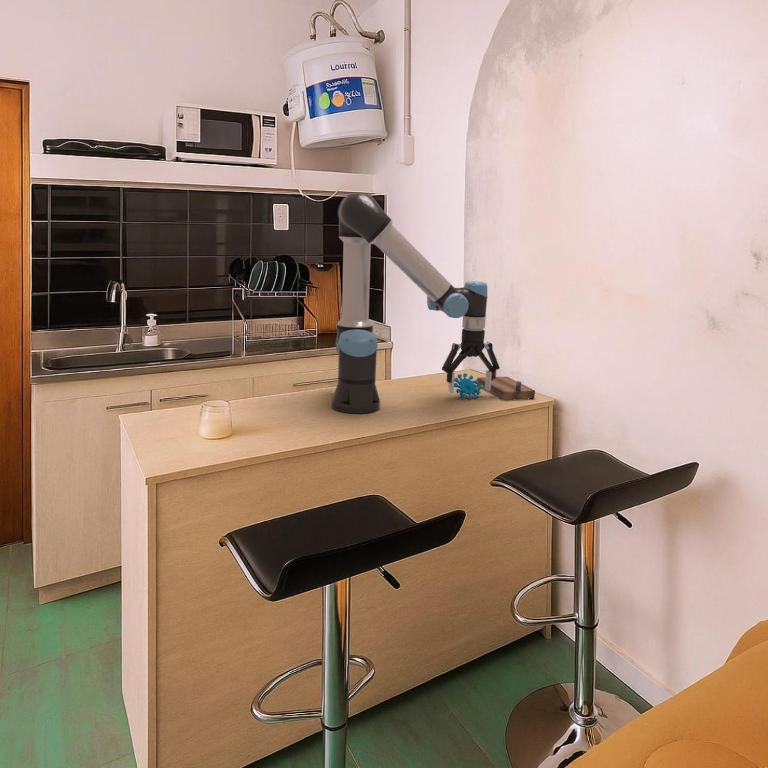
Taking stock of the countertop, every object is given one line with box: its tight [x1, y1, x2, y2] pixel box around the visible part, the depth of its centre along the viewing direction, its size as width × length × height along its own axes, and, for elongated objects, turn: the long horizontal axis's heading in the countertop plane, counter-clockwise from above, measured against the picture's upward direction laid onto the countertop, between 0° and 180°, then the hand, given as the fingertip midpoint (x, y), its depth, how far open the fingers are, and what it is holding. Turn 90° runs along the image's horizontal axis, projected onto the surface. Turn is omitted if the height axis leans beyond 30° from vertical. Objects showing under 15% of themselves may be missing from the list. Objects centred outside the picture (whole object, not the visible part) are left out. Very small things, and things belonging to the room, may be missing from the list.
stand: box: [476, 370, 536, 401], centre depth 236 cm, size 12×20×6 cm, turn 18°
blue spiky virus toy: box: [454, 372, 484, 400], centre depth 229 cm, size 11×6×10 cm
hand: (469, 391), depth 227 cm, fingers open, 13 cm apart
